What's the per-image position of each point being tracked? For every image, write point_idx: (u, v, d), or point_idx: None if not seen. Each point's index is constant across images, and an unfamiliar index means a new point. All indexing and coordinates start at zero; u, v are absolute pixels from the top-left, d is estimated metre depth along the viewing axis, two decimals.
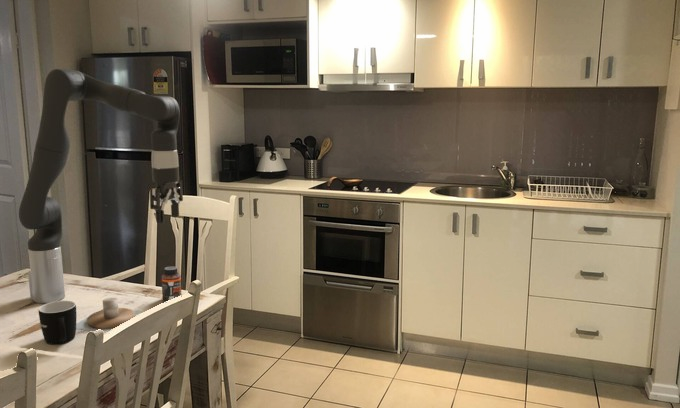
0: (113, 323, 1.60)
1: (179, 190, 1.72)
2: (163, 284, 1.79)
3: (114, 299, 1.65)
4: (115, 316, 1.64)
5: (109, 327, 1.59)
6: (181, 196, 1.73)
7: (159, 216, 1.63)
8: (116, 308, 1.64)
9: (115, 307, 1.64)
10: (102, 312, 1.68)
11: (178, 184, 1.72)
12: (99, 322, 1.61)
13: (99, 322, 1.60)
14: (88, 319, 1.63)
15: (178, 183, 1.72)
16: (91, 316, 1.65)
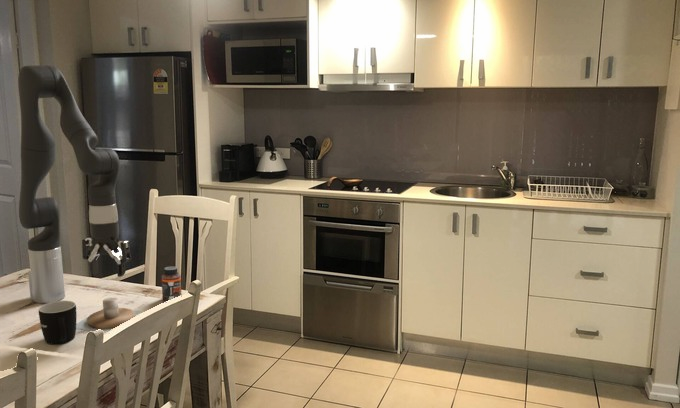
0: (113, 323, 1.60)
1: (90, 246, 1.63)
2: (163, 284, 1.79)
3: (114, 299, 1.65)
4: (115, 316, 1.64)
5: (109, 327, 1.59)
6: None
7: (124, 268, 1.61)
8: (116, 308, 1.64)
9: (115, 307, 1.64)
10: (102, 312, 1.68)
11: None
12: (99, 322, 1.61)
13: (99, 322, 1.60)
14: (88, 319, 1.63)
15: (89, 239, 1.63)
16: (91, 316, 1.65)
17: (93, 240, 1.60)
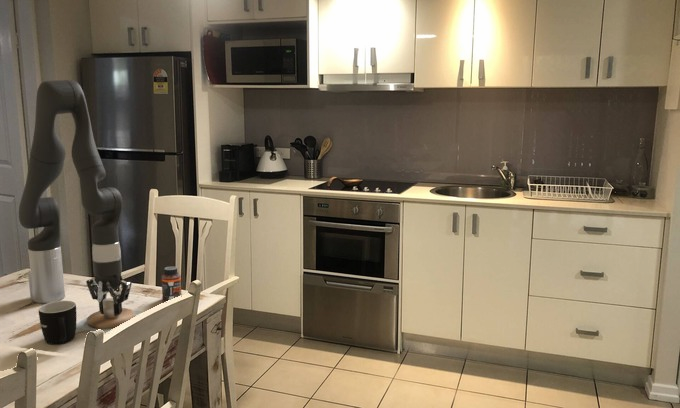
0: (113, 322, 1.60)
1: (96, 285, 1.65)
2: (163, 284, 1.79)
3: None
4: (115, 316, 1.64)
5: (109, 327, 1.59)
6: None
7: (121, 307, 1.64)
8: None
9: None
10: None
11: None
12: (99, 322, 1.61)
13: (99, 322, 1.60)
14: (88, 319, 1.62)
15: None
16: (91, 316, 1.65)
17: (95, 277, 1.63)
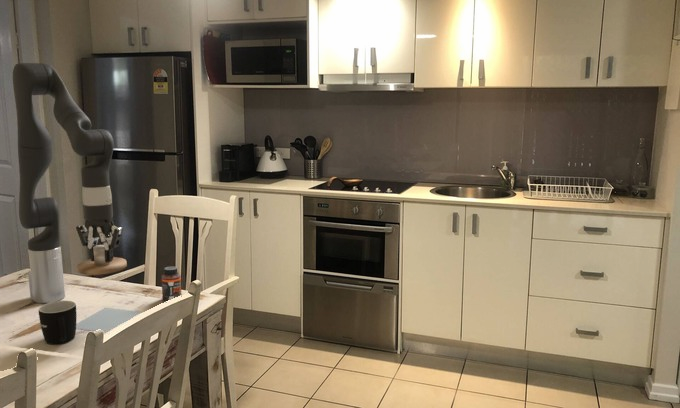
0: (104, 268, 1.55)
1: (86, 232, 1.61)
2: (163, 284, 1.79)
3: None
4: (106, 263, 1.59)
5: (100, 273, 1.54)
6: None
7: (112, 254, 1.59)
8: None
9: None
10: None
11: None
12: (89, 268, 1.56)
13: (90, 268, 1.56)
14: (78, 266, 1.58)
15: (83, 225, 1.60)
16: (81, 263, 1.60)
17: (86, 223, 1.58)
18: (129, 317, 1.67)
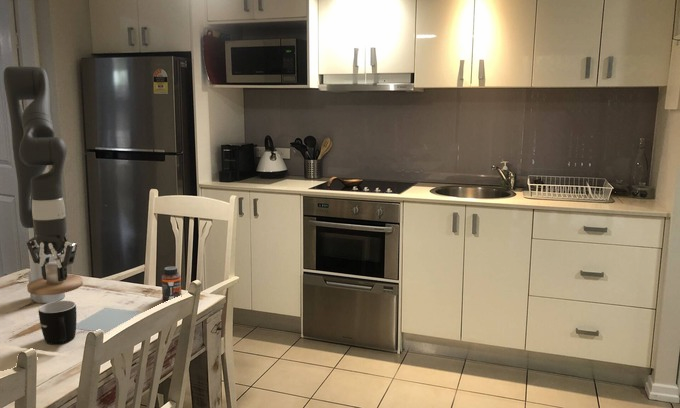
0: (55, 288, 1.43)
1: (39, 248, 1.48)
2: (163, 284, 1.79)
3: None
4: (59, 282, 1.47)
5: (51, 293, 1.42)
6: None
7: (66, 272, 1.47)
8: None
9: None
10: None
11: None
12: (40, 287, 1.44)
13: (40, 288, 1.43)
14: (28, 285, 1.45)
15: None
16: (33, 282, 1.48)
17: (37, 238, 1.45)
18: (129, 317, 1.67)
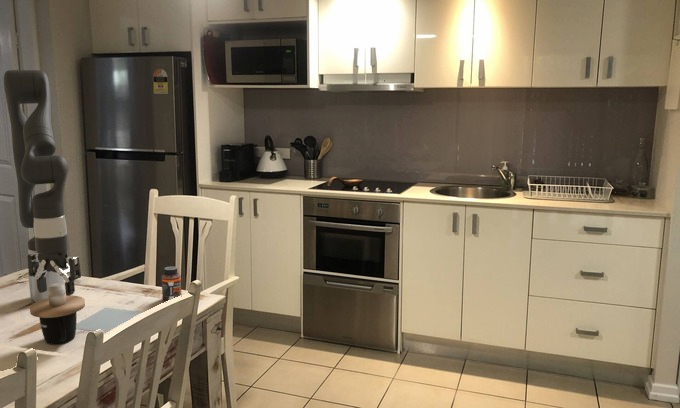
0: (58, 311, 1.44)
1: (37, 261, 1.49)
2: (163, 284, 1.79)
3: (61, 285, 1.48)
4: (62, 304, 1.48)
5: (53, 315, 1.43)
6: None
7: (73, 287, 1.47)
8: (63, 295, 1.48)
9: (61, 294, 1.48)
10: (48, 300, 1.52)
11: None
12: (42, 310, 1.45)
13: (43, 310, 1.44)
14: (31, 307, 1.46)
15: (36, 253, 1.49)
16: (35, 304, 1.49)
17: (39, 255, 1.46)
18: (129, 317, 1.67)
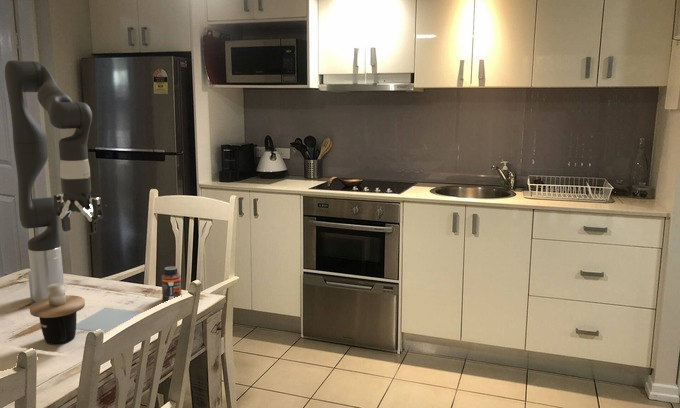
0: (58, 311, 1.44)
1: (62, 202, 1.60)
2: (163, 284, 1.79)
3: (60, 285, 1.49)
4: (61, 304, 1.48)
5: (53, 315, 1.43)
6: None
7: (96, 226, 1.58)
8: (63, 295, 1.48)
9: (61, 294, 1.48)
10: (48, 300, 1.52)
11: None
12: (42, 310, 1.45)
13: (43, 310, 1.44)
14: (31, 307, 1.46)
15: (61, 195, 1.59)
16: (35, 304, 1.49)
17: (64, 196, 1.57)
18: (129, 317, 1.67)
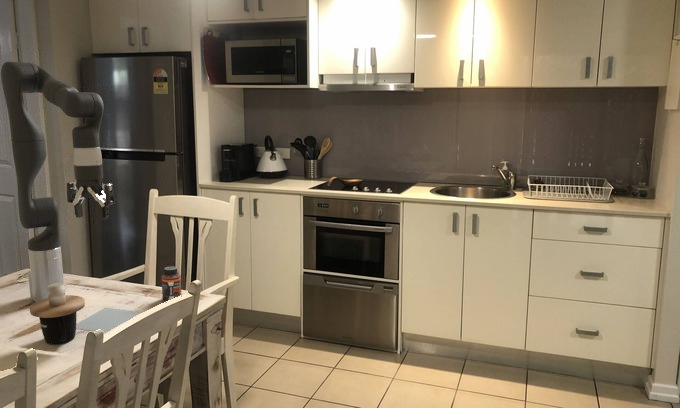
0: (58, 310, 1.44)
1: (75, 189, 1.66)
2: (163, 284, 1.79)
3: (60, 285, 1.49)
4: (61, 304, 1.48)
5: (53, 315, 1.43)
6: None
7: (108, 211, 1.64)
8: (63, 295, 1.48)
9: (61, 294, 1.48)
10: (48, 300, 1.52)
11: None
12: (42, 310, 1.45)
13: (43, 310, 1.44)
14: (31, 307, 1.46)
15: (74, 182, 1.65)
16: (35, 304, 1.49)
17: (77, 183, 1.63)
18: (129, 317, 1.67)
